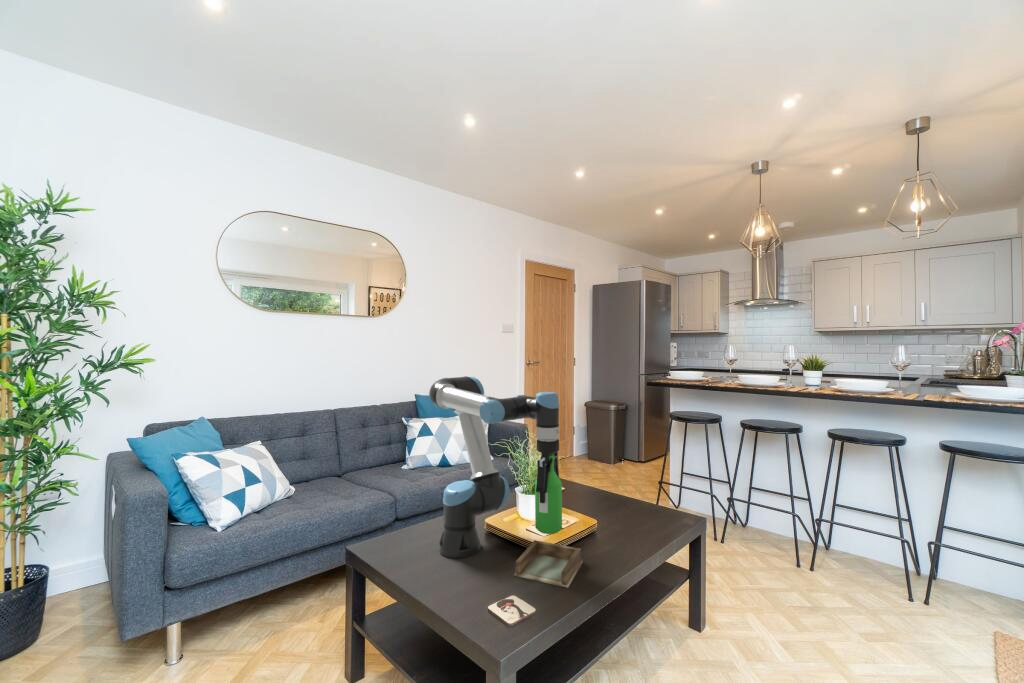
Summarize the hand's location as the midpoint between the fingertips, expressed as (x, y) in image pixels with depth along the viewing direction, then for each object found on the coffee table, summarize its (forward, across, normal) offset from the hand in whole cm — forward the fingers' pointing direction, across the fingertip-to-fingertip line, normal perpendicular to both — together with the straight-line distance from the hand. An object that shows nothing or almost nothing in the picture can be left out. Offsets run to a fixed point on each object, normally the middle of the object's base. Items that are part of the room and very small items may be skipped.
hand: (548, 507), depth 146 cm
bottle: (+8, 0, 0) cm, 8 cm away
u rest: (+21, 0, 0) cm, 21 cm away
